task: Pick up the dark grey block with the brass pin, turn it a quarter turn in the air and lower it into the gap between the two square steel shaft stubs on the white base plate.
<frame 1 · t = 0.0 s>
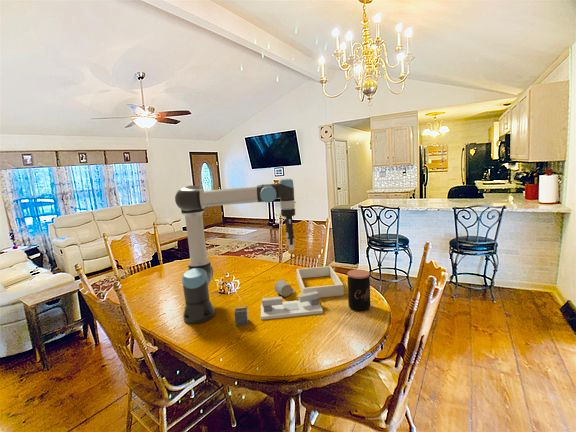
hand: (290, 247, 171), 28 cm above the table, fingers open, 13 cm apart
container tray: (318, 285, 187), on the table
ceramic mug: (286, 294, 179), on the table
dark grey block: (242, 322, 150), on the table
white base plate: (290, 309, 159), on the table
coffee jar: (359, 307, 157), on the table
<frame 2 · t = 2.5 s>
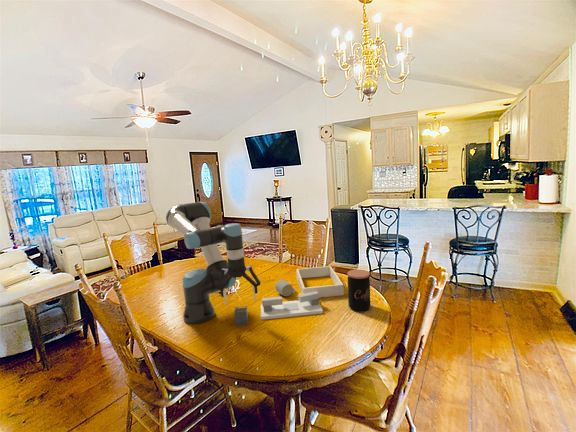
hand: (240, 301, 147), 11 cm above the table, fingers open, 13 cm apart
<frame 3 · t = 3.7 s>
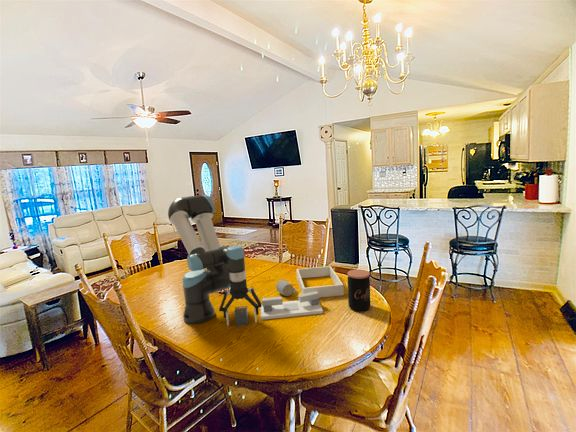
hand: (242, 322, 149), 0 cm above the table, fingers open, 12 cm apart
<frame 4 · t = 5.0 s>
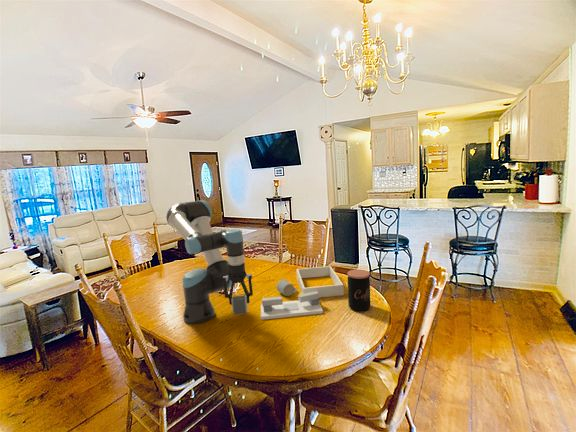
hand: (240, 309, 149), 6 cm above the table, fingers closed on dark grey block, 5 cm apart
dark grey block: (240, 311, 149), point 6 cm above the table, touching gripper
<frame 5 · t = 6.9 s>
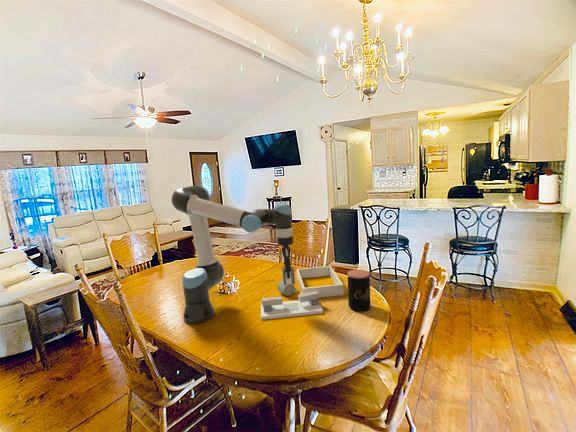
hand: (288, 281, 156), 15 cm above the table, fingers closed on dark grey block, 5 cm apart
dark grey block: (289, 282, 156), point 15 cm above the table, touching gripper
when the fingers open (2 cm above the table, at t = 9.2 s): dark grey block stays where it is, resting on white base plate.
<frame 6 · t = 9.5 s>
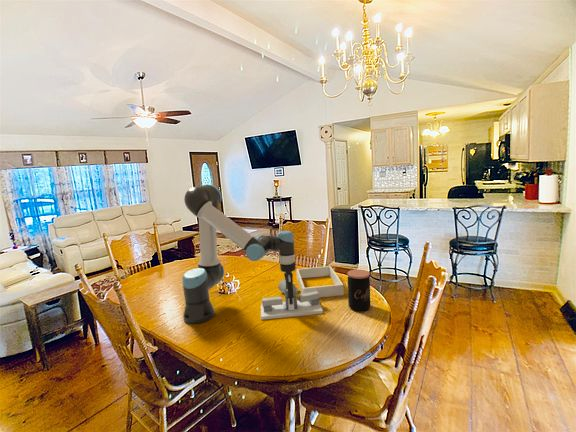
hand: (290, 305, 159), 2 cm above the table, fingers open, 9 cm apart
dark grey block: (291, 306, 159), point 2 cm above the table, touching white base plate
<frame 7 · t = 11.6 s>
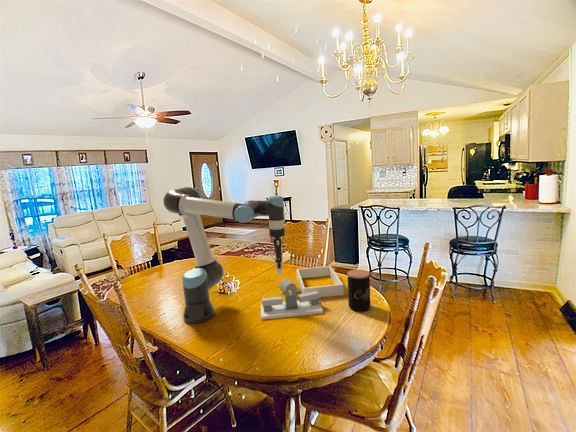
hand: (278, 269, 157), 21 cm above the table, fingers open, 13 cm apart
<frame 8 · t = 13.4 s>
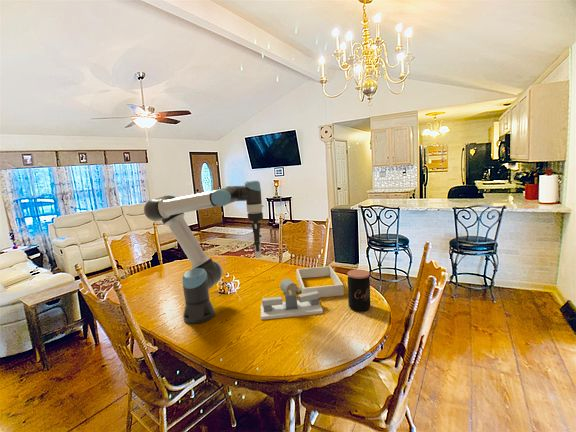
hand: (258, 253, 160), 29 cm above the table, fingers open, 13 cm apart
at the end: dark grey block 0.3 cm off-centre on the white base plate, point 1.7 cm above the white base plate's base; dark grey block tilted 0°; the gripper is holding nothing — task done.
